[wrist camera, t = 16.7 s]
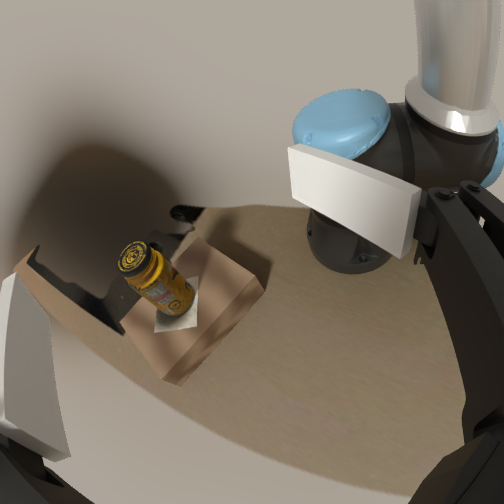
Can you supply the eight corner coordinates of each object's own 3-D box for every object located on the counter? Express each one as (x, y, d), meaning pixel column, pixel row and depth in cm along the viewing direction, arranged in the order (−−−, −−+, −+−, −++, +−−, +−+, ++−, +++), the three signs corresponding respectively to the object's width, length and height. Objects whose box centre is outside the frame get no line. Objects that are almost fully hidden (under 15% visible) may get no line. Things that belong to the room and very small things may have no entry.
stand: (210, 253, 54) (198, 237, 50) (265, 291, 45) (255, 275, 42) (137, 332, 48) (119, 322, 45) (179, 386, 40) (161, 379, 36)
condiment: (198, 276, 45) (156, 228, 36) (197, 326, 40) (147, 286, 30) (160, 285, 46) (114, 243, 37) (155, 333, 41) (101, 297, 32)
